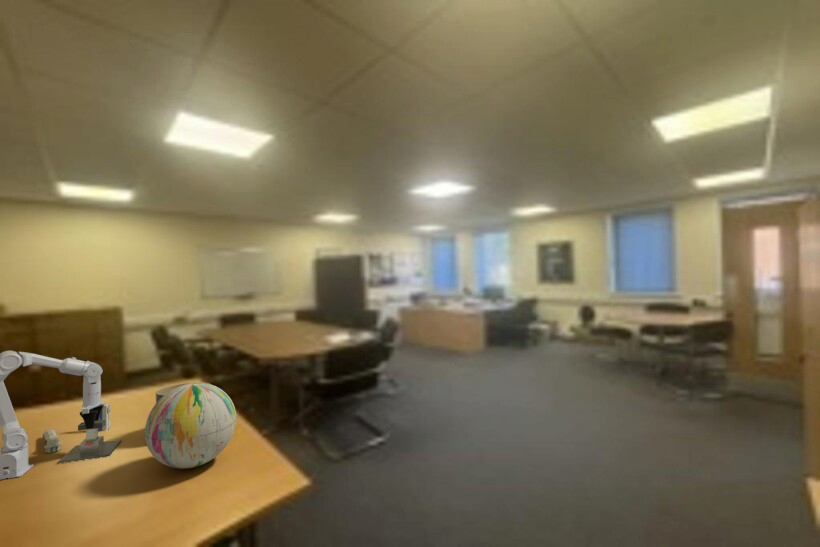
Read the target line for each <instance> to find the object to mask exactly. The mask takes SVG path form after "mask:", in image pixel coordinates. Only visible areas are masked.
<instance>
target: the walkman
mask: <svg viewBox="0 0 820 547" xmlns="http://www.w3.org/2000/svg"><path fill="white" fill-rule="evenodd" d="M103 405H104V407H103V408H102V410H101V413H100V416H99V420H106V425H105V426H104V427H102V428H98V432H104V431H103V430H107V431H109V430H110V429H111V403H107V404H105V403H104V404H103ZM108 429H109V430H108Z"/></svg>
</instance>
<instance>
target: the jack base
mask: <svg viewBox="0 0 820 547" xmlns="http://www.w3.org/2000/svg"><path fill="white" fill-rule="evenodd" d="M104 438H105V437H104V435H100V436H99V435H98V439H97V440H96V441H89V442H86V438H84V439H83V440H82V441H81V442H80V443H79V444H78V445H74V447H73V448H71V449H70V450H69V451H68V452H67V453H66V454H65V455H64V456H62V457H61V459H59V460H58V465H60V464H59V463H62V464H65V463H64V462H69V463H72V462H71V461H75V462H79V461H78V460H82V461H86V460H85V459H89V460H93V459H92V458H95V459H101V458H100V457H102V458H107V456H109V457H111V456H112V454H113V453H114V452H115V450H116V449H117V448H118V447H119V446H120V444H121V443H122V442H123V440H122V438H121V439H114V440H107V441H106V440H105V441H104ZM117 446H118V447H117ZM112 452H113V453H112Z"/></svg>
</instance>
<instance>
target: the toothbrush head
mask: <svg viewBox="0 0 820 547" xmlns="http://www.w3.org/2000/svg"><path fill="white" fill-rule="evenodd" d="M42 439H43V440H46V444H45V445H44V446H43V447H44V449H45V454H47V453H49V454H51V453H55V452H57V451H58V452H59V451H60V450H61V449H62V448H61V447H62V444H63V443H62V441H60V437H59V435H57V431H56V430H55V429H53V428H50V429H46V430H45V431H44V432H43V433H42Z"/></svg>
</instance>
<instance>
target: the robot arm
mask: <svg viewBox="0 0 820 547" xmlns="http://www.w3.org/2000/svg"><path fill="white" fill-rule="evenodd" d="M31 365H38V366H43V367H49V368H55V369H58V370H59V372H60V373H62V374H66V375H67V374H68V375H74V376H79V377H80V376H83V383H82V409H81V411H80V412H79V416H80V417H81V418H82V421H83V422H84V423H85V426H86V429H90V428H93V427H94V422H95V421H98V420H99V416H100V413H101V410H102V408H103V407H104V405H103V404H105V401H102V381H101V378H102V377H101V375H102V374H103V368H102V367H101V365H99V364H98V363H96V362H93V361H90V360H86V361H84V360H80V359H77V357H74V356H72V357H67V358H65V359H59V358H54V357H51V356H50V357H49V356H47V355H42V354H41V355H40V354H37V353H31V352H26V351H25V352H24V351H18V352H17V351H14V350H5V351H2V352H0V428H1V431H2V435H1V441H2V445H3V446H2V447H1V448H0V480H7V479H6V478H8V479H12V478H19V477H22V476H23V475H24V474H25V473H27V471H29V470H30V469H32V468H33V467H34V466H35V465H34V464H29V443H28V441H29V440H28V439H29V437H28V434H27V433H26V432H27V431H26V429H25V428H24V427H23V426H21V425H20V423H19V420H18V418H17V415H16V412H15V410H14V407H13V405H12V404H13V403H12V401H11V399H10V396H9V393H8V390H7V387H6V385H5V382H4V380H6V378H8V376H9V375H10V374H11V373H12V372H14V371H15V370H17V369H18V368H19V367H20V366H22V367H27V366H31Z"/></svg>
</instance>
